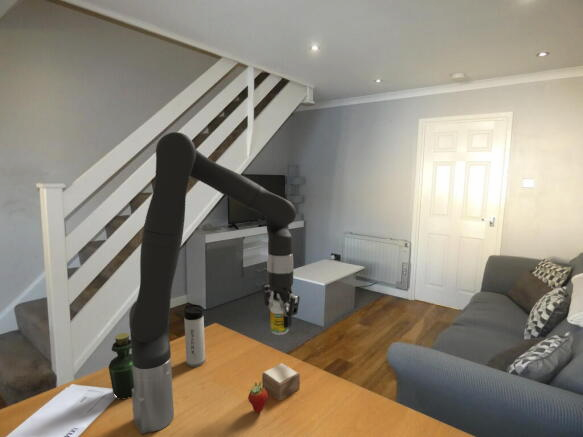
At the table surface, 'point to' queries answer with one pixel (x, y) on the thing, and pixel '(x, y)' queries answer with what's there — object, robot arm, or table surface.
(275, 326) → the supplement bottle
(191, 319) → the travel mug
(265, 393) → the fruit
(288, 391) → the wooden block
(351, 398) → the table surface
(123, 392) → the potion bottle
